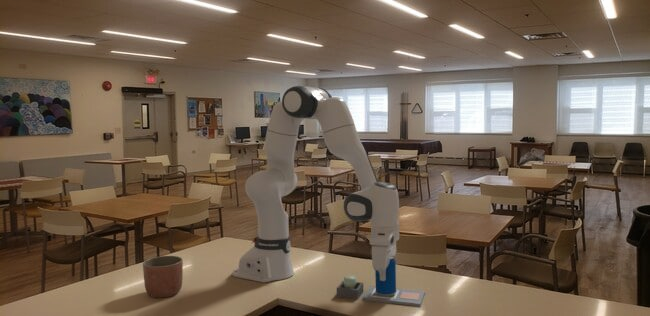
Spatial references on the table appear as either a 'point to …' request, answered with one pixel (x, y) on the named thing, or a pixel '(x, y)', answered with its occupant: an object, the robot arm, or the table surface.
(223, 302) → the table surface
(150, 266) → the planter
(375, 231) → the robot arm
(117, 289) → the table surface
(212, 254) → the table surface
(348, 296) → the button housing
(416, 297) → the picture board
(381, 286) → the beverage can
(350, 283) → the button
